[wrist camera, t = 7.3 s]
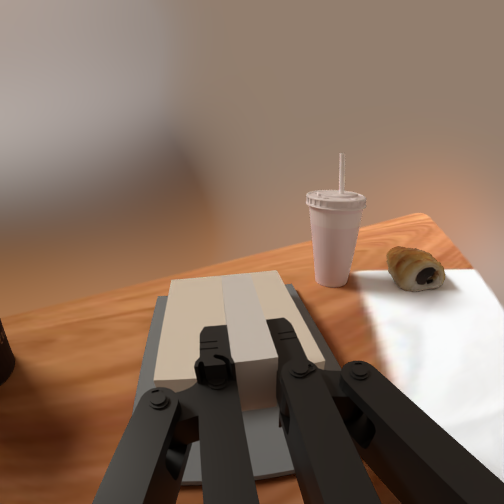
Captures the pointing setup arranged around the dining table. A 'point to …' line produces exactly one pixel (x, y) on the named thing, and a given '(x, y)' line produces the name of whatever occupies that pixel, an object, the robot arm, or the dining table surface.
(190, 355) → the tile
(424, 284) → the pastry
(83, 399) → the dining table surface
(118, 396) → the dining table surface
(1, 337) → the coffee mug
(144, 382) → the mat
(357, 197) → the smoothie
